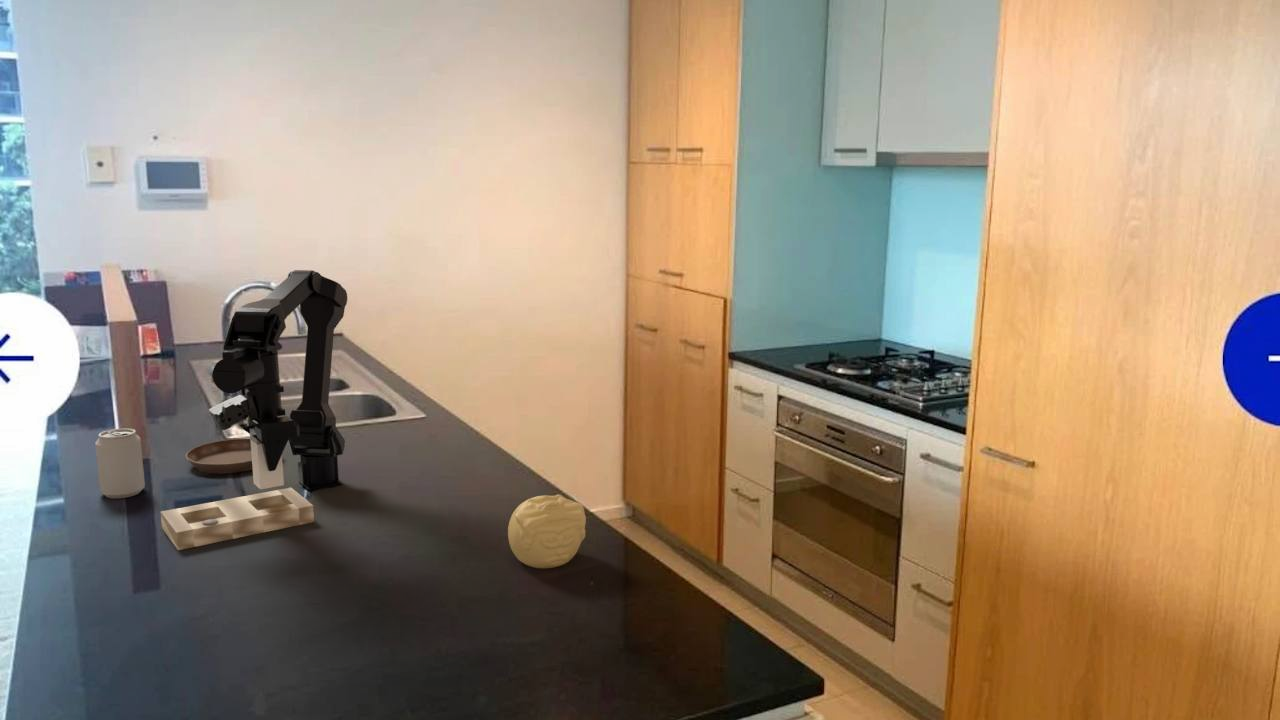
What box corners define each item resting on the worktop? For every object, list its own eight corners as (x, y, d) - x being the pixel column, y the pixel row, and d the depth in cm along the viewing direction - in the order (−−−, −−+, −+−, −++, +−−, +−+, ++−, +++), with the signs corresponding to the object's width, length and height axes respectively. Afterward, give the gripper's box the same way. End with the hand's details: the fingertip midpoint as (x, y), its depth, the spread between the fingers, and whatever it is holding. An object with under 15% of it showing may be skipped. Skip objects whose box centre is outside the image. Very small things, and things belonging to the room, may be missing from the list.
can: (126, 501, 182) (120, 438, 180) (91, 498, 183) (84, 435, 181) (154, 488, 189) (148, 427, 187) (119, 485, 191) (113, 425, 188)
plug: (276, 479, 175) (273, 424, 173) (283, 485, 172) (280, 429, 170) (253, 483, 173) (249, 428, 171) (260, 489, 170) (256, 433, 168)
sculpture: (525, 581, 148) (524, 513, 146) (498, 553, 159) (497, 489, 157) (594, 567, 153) (594, 501, 151) (564, 541, 164) (563, 479, 162)
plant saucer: (273, 473, 199) (272, 459, 198) (178, 480, 195) (177, 465, 194) (283, 449, 216) (282, 436, 215) (196, 454, 212) (195, 441, 211)
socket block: (292, 503, 181) (291, 486, 181) (314, 522, 172) (313, 504, 171) (162, 528, 169) (160, 510, 168) (178, 550, 159) (176, 531, 158)
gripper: (198, 376, 171) (205, 462, 174) (226, 396, 157) (234, 490, 160) (264, 368, 178) (270, 451, 181) (297, 387, 163) (303, 478, 166)
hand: (268, 467), depth 172 cm, fingers closed on plug, 4 cm apart
